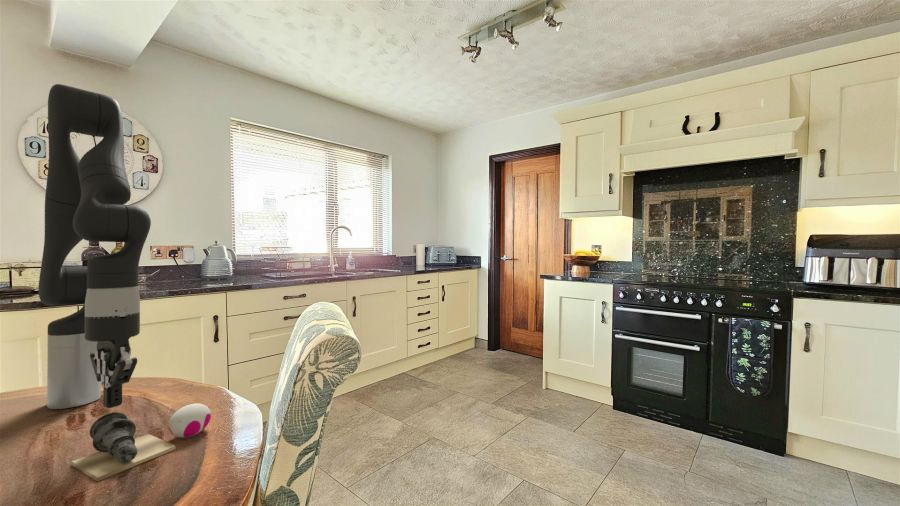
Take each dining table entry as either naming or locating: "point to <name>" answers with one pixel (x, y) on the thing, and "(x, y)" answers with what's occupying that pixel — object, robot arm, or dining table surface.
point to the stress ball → (189, 420)
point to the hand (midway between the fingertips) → (112, 406)
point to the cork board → (107, 465)
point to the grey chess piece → (115, 436)
